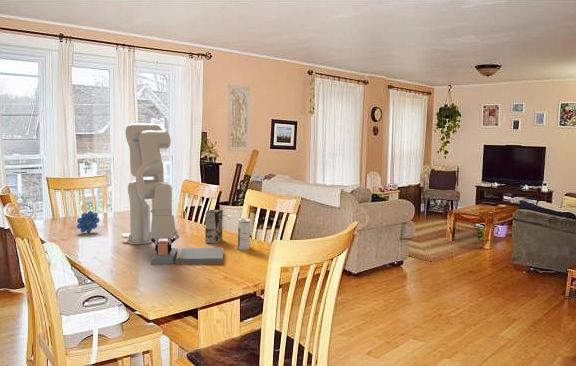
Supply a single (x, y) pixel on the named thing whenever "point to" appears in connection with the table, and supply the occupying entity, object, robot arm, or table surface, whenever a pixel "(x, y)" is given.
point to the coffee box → (213, 226)
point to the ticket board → (199, 256)
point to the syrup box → (244, 234)
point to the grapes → (88, 222)
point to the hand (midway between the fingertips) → (163, 252)
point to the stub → (164, 254)
